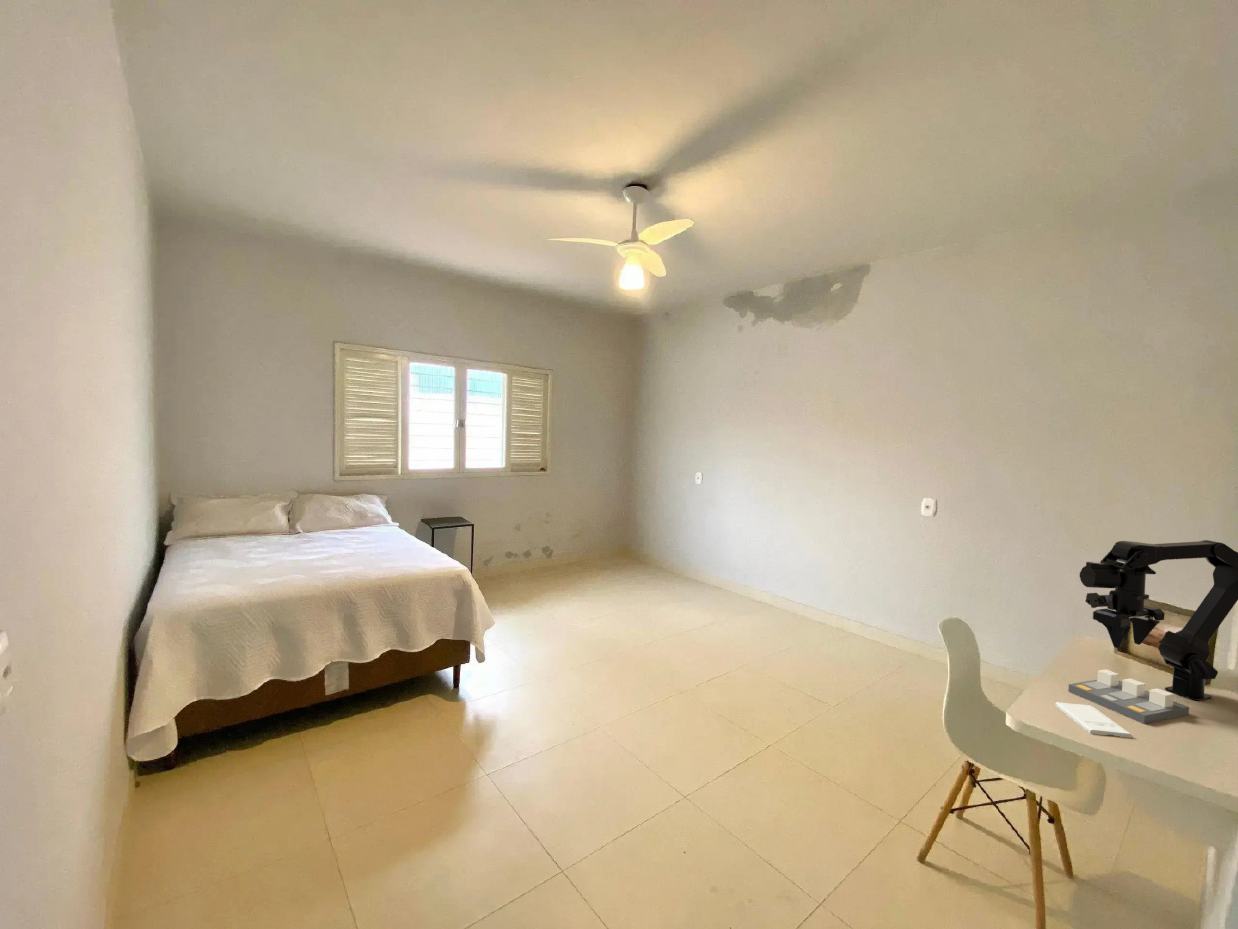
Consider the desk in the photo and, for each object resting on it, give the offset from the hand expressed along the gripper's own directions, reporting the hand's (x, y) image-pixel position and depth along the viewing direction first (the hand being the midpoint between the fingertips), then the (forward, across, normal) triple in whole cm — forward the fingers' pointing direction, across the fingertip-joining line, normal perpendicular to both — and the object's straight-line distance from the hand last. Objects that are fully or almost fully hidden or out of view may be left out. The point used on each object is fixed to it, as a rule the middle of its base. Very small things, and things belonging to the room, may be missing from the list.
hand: (1127, 646), depth 137 cm
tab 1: (+10, +6, 0) cm, 12 cm away
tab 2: (+10, +6, +5) cm, 13 cm away
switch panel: (+12, +9, +5) cm, 16 cm away
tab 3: (+10, +7, +11) cm, 16 cm away
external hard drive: (+12, +28, +8) cm, 32 cm away
